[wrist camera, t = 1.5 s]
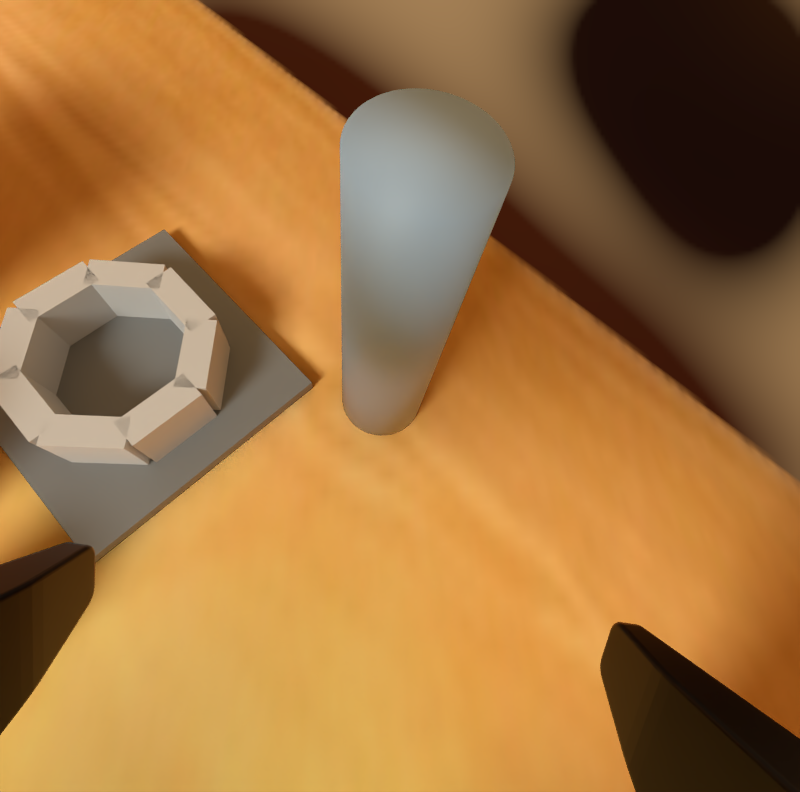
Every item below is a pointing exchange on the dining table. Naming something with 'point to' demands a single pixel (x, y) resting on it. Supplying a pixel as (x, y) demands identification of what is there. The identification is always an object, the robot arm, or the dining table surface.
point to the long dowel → (410, 241)
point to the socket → (132, 387)
